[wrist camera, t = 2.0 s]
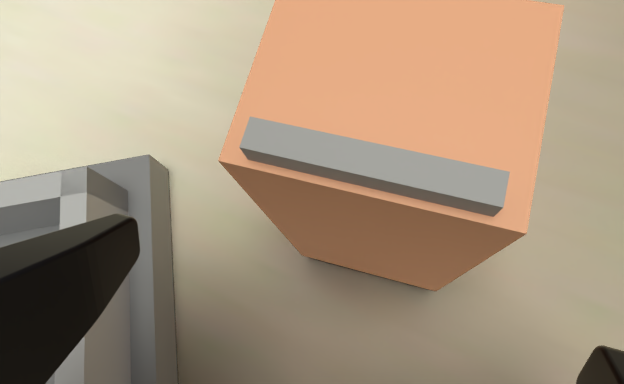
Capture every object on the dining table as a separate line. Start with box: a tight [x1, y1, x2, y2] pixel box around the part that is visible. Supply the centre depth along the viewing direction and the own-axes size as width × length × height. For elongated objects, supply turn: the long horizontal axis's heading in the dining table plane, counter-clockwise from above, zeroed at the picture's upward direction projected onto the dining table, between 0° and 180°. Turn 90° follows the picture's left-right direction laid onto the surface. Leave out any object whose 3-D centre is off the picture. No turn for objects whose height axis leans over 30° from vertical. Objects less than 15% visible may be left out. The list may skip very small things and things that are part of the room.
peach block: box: [218, 0, 564, 291], centre depth 14 cm, size 4×6×13 cm
